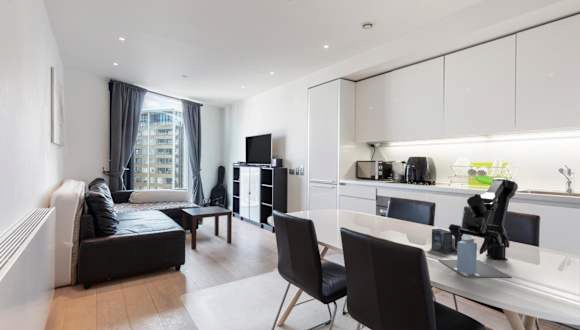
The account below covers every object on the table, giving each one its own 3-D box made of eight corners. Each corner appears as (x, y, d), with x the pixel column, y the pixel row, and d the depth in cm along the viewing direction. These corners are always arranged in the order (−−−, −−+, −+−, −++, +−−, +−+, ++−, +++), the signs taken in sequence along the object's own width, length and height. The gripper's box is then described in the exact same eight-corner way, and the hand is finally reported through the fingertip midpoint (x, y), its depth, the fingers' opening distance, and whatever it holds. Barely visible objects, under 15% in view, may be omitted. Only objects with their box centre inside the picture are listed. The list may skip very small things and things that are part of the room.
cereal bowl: (481, 253, 142) (481, 239, 142) (447, 253, 143) (448, 238, 143) (461, 243, 159) (462, 231, 159) (431, 243, 160) (432, 230, 160)
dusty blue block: (463, 268, 121) (464, 240, 121) (476, 272, 116) (476, 243, 116) (456, 270, 118) (457, 241, 118) (469, 274, 114) (470, 245, 114)
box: (431, 249, 149) (431, 229, 149) (439, 248, 150) (440, 228, 150) (443, 253, 141) (444, 232, 141) (452, 252, 143) (452, 231, 143)
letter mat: (479, 260, 132) (479, 260, 132) (511, 277, 113) (511, 276, 113) (438, 260, 131) (438, 259, 131) (464, 277, 112) (464, 276, 112)
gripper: (450, 206, 128) (438, 234, 122) (499, 212, 113) (488, 244, 107) (458, 221, 133) (446, 249, 127) (506, 229, 118) (495, 261, 111)
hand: (467, 250), depth 118 cm, fingers open, 9 cm apart
